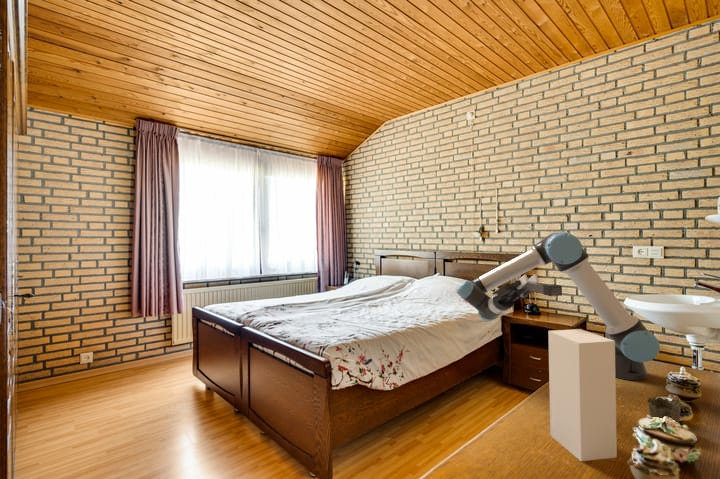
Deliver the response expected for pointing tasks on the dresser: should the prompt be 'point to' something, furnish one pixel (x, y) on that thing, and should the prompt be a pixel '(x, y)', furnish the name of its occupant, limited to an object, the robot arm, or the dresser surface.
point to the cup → (664, 408)
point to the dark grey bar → (543, 288)
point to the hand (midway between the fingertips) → (531, 278)
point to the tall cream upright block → (583, 393)
